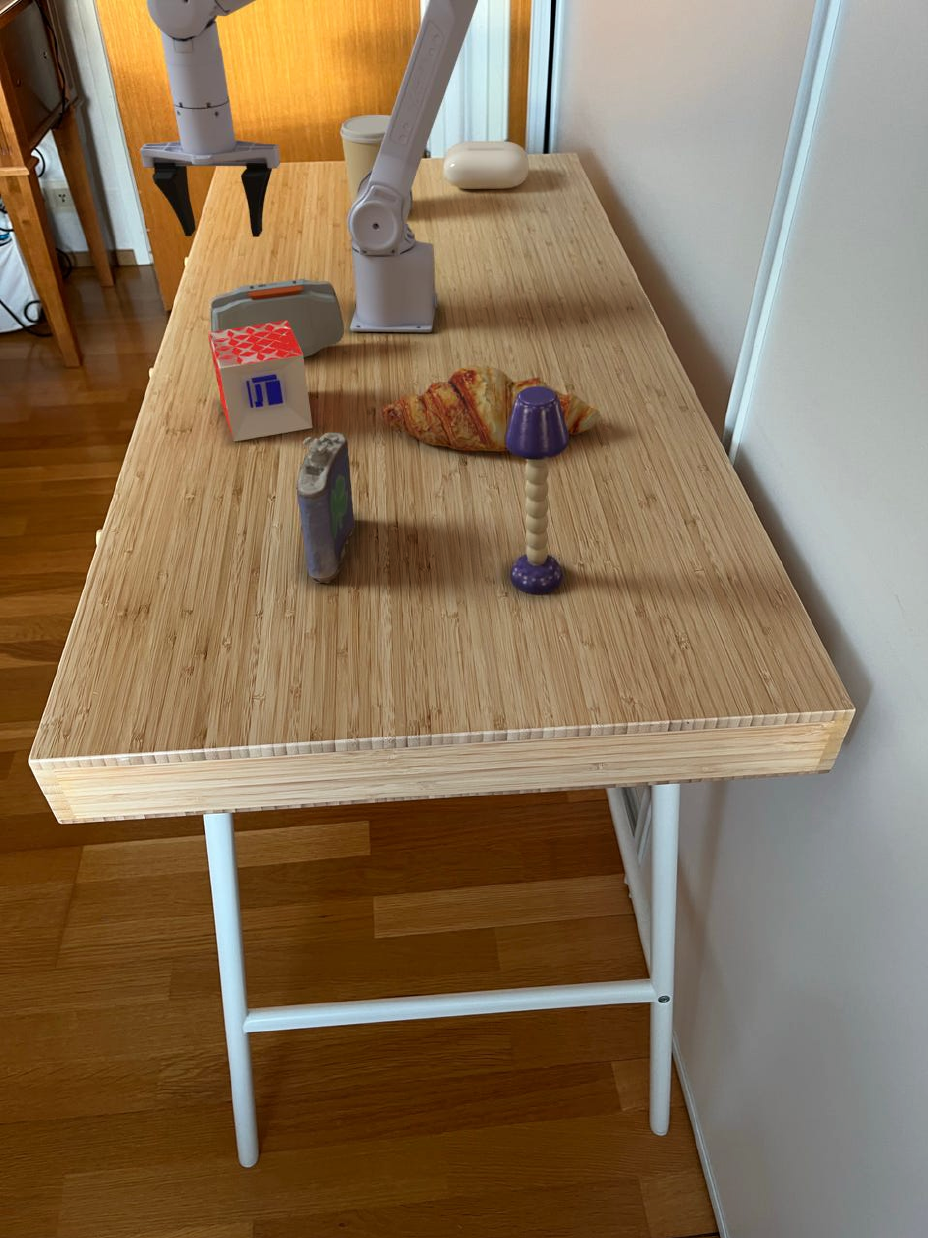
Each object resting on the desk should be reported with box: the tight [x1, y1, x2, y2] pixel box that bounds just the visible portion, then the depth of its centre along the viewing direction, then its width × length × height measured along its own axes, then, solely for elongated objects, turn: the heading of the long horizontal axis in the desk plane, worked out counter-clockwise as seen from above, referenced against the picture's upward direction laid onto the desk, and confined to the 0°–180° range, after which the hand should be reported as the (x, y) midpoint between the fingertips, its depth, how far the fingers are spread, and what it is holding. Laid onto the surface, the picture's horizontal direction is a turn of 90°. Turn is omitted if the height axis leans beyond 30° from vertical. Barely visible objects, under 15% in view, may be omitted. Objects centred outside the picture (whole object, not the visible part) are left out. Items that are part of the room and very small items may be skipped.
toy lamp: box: [505, 386, 570, 595], centre depth 75 cm, size 5×5×17 cm
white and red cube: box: [207, 321, 314, 443], centre depth 98 cm, size 8×8×8 cm
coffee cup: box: [339, 114, 391, 206], centre depth 140 cm, size 9×9×12 cm
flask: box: [295, 432, 356, 584], centre depth 80 cm, size 9×3×11 cm, turn 172°
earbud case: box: [442, 140, 530, 190], centre depth 151 cm, size 10×13×5 cm
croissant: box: [381, 365, 601, 452], centre depth 96 cm, size 21×10×8 cm, turn 92°
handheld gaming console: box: [209, 278, 345, 358], centre depth 108 cm, size 14×3×8 cm, turn 106°
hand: (224, 233), depth 112 cm, fingers open, 7 cm apart
